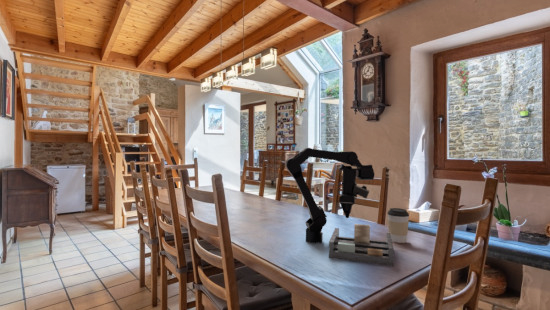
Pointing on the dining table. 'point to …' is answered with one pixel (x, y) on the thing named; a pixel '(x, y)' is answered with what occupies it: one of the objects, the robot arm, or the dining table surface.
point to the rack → (362, 250)
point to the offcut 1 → (346, 247)
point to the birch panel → (362, 233)
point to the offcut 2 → (375, 251)
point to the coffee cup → (398, 224)
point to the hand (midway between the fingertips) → (348, 215)
